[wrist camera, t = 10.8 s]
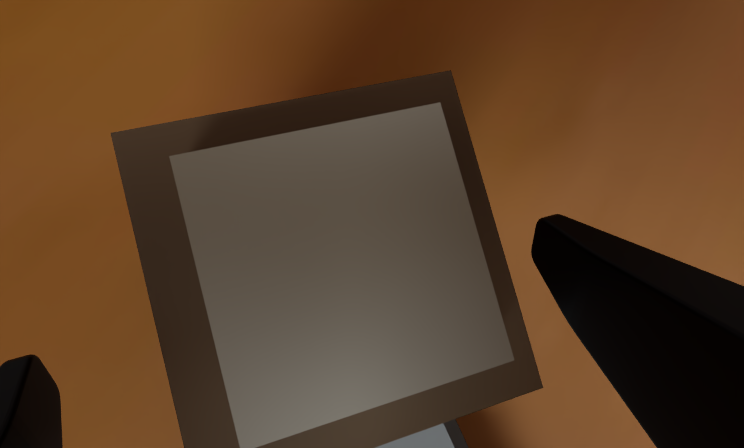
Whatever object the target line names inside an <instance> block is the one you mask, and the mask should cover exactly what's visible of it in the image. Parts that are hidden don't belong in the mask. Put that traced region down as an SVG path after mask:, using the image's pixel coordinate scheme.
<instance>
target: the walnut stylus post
mask: <svg viewBox="0 0 744 448" xmlns="http://www.w3.org/2000/svg"><path fill="white" fill-rule="evenodd" d="M111 137H112V141H113V145H114V150H115V154H116V158H117V162H118V167H119V171H120V175H121V179H122V184H123V188H124V192H125V196H126V201H127V205H128V209H129V214H130V218H131V222H132V226H133V231H134V235H135V239H136V243H137V248H138V252H139V256H140V261H141V265H142V269H143V273H144V278H145V282H146V286H147V290H148V295H149V299H150V303H151V307H152V312H153V316H154V320H155V325H156V329H157V333H158V337H159V342H160V346H161V350H162V354H163V359H164V363H165V367H166V372H167V376H168V380H169V384H170V389H171V393H172V397H173V401H174V406H175V410H176V414H177V418H178V423H179V427H180V431H181V436H182V440H183V444H184V448H375V447H378V446H381V445H383V444H386V443H389V442H392V441H395V440H397V439H400V438H403V437H406V436H409V435H411V434H414V433H417V432H420V431H423V430H426V429H428V428H431V427H434V426H437V425H440V424H442V423H445V422H448V421H451V420H454V419H456V418H459V417H462V416H465V415H468V414H470V413H473V412H476V411H479V410H482V409H485V408H487V407H490V406H493V405H496V404H499V403H501V402H504V401H507V400H510V399H513V398H515V397H518V396H521V395H524V394H527V393H529V392H532V391H535V390H538V389H541V388H543V386H542V382H541V379H540V375H539V372H538V368H537V365H536V362H535V358H534V355H533V351H532V348H531V344H530V341H529V337H528V334H527V331H526V327H525V324H524V320H523V317H522V313H521V310H520V307H519V303H518V300H517V296H516V293H515V289H514V286H513V282H512V279H511V276H510V272H509V269H508V265H507V262H506V258H505V255H504V251H503V248H502V245H501V241H500V238H499V234H498V231H497V227H496V224H495V221H494V217H493V214H492V210H491V207H490V203H489V200H488V196H487V193H486V190H485V186H484V183H483V179H482V176H481V172H480V169H479V166H478V162H477V159H476V155H475V152H474V148H473V145H472V141H471V138H470V135H469V131H468V128H467V124H466V121H465V117H464V114H463V110H462V107H461V104H460V100H459V97H458V93H457V90H456V86H455V83H454V80H453V76H452V73H451V70H450V71H445V72H440V73H434V74H429V75H423V76H418V77H412V78H407V79H402V80H396V81H391V82H385V83H380V84H374V85H369V86H364V87H358V88H353V89H347V90H342V91H336V92H331V93H326V94H320V95H315V96H309V97H304V98H298V99H293V100H288V101H282V102H277V103H271V104H266V105H260V106H255V107H250V108H244V109H239V110H233V111H228V112H222V113H217V114H212V115H206V116H201V117H195V118H190V119H184V120H179V121H174V122H168V123H163V124H157V125H152V126H146V127H141V128H136V129H130V130H125V131H119V132H114V133H111Z"/></svg>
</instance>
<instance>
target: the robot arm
mask: <svg viewBox="0 0 744 448" xmlns="http://www.w3.org/2000/svg"><path fill="white" fill-rule="evenodd" d="M531 253H532V258H533V261H534V263H535V265H536V267H537V269H538V270H539V272H540V274H541V276H542V277H543V279H544V281H545V283H546V285H547V286H548V288H549V290H550V292H551V293H552V295H553V297H554V299H555V301H556V302H557V304H558V306H559V308H560V310H561V311H562V313H563V315H564V316H565V318H566V320H567V321H568V323H569V325H570V326H571V327H572V329H573V330H574V332H575V333H576V335H577V336H578V338H579V339H580V340H581V342H582V343H583V345H584V346H585V347H586V349H587V350H588V352H589V353H590V354H591V356H592V357H593V359H594V360H595V361H596V363H597V364H598V366H599V367H600V369H601V370H602V371H603V373H604V374H605V376H606V377H607V378H608V380H609V381H610V383H611V384H612V385H613V387H614V388H615V390H616V391H617V392H618V394H619V395H620V397H621V398H622V399H623V401H624V402H625V404H626V405H627V406H628V408H629V409H630V411H631V412H632V413H633V415H634V416H635V418H636V419H637V420H638V422H639V423H640V425H641V426H642V427H643V429H644V430H645V432H646V433H647V434H648V436H649V437H650V439H651V440H652V441H653V443H654V444H655V446H656V447H657V448H744V286H742V285H739V284H737V283H734V282H731V281H729V280H726V279H724V278H721V277H719V276H716V275H714V274H711V273H709V272H706V271H703V270H701V269H698V268H696V267H693V266H691V265H688V264H686V263H683V262H680V261H678V260H675V259H673V258H670V257H668V256H665V255H663V254H660V253H657V252H655V251H652V250H650V249H647V248H645V247H642V246H640V245H637V244H634V243H632V242H629V241H627V240H624V239H622V238H619V237H617V236H614V235H611V234H609V233H606V232H604V231H601V230H599V229H596V228H594V227H591V226H589V225H586V224H583V223H581V222H578V221H576V220H573V219H571V218H568V217H566V216H563V215H560V214H555V215H551V216H547V217H543V218H541V219H539V220H538V222H537V224H536V228H535V233H534V239H533V244H532V249H531ZM0 448H62V425H61V402H60V393H59V390H58V387H57V385H56V383H55V381H54V380H53V378H52V377H51V375H50V374H49V372H48V371H47V369H46V368H45V366H44V365H43V363H42V362H41V360H40V359H39V358H38V357H37V356H36V355H26V356H23V357H19V358H15V359H11V360H8V361H6V362H5V363H3V364H2V365H1V366H0Z"/></svg>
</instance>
